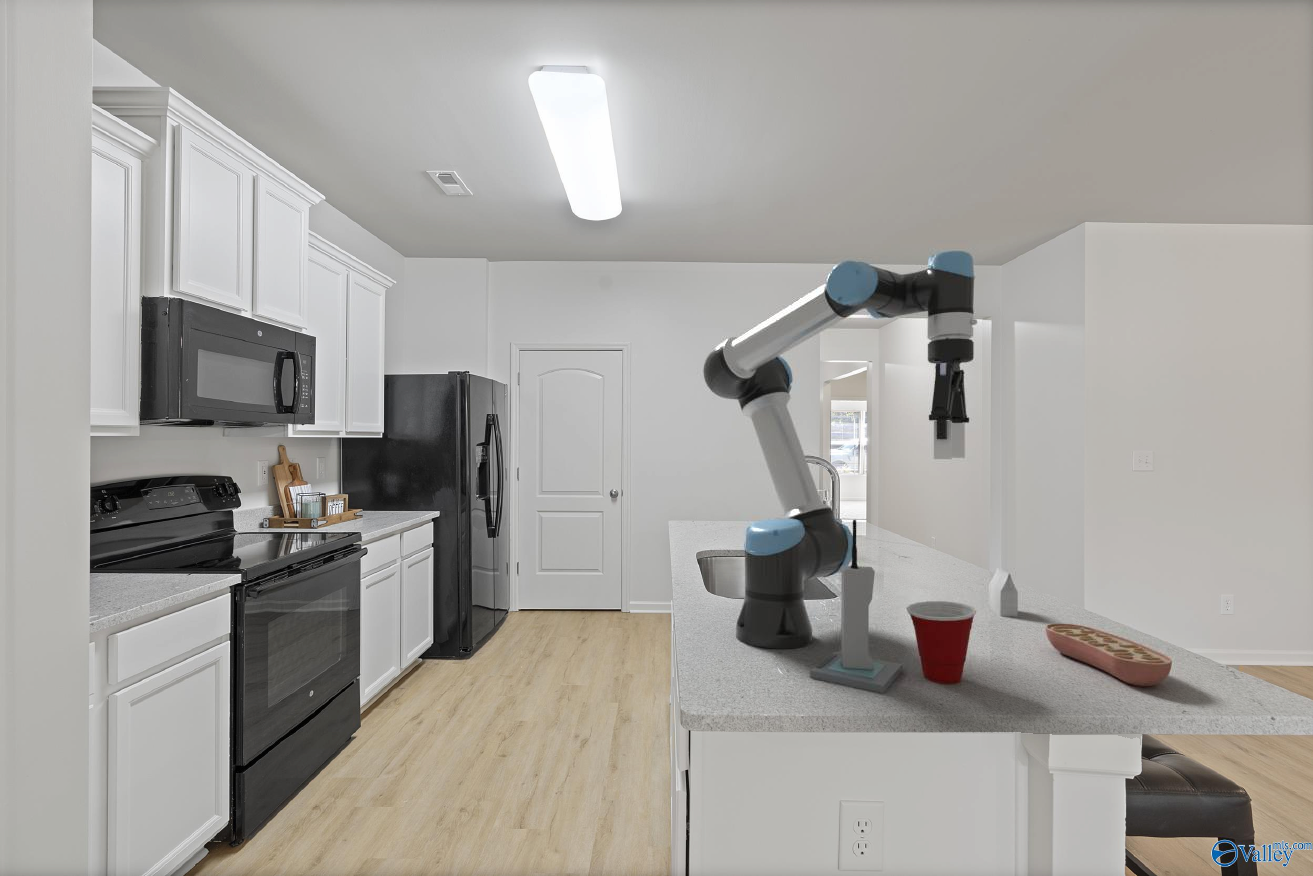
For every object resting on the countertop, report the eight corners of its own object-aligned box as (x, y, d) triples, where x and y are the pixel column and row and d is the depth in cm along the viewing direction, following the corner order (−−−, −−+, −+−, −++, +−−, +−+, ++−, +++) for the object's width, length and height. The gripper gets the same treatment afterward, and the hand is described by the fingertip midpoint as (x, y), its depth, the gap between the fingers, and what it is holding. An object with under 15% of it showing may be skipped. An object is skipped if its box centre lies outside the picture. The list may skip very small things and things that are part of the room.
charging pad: (810, 677, 109) (810, 669, 109) (833, 658, 119) (833, 650, 119) (883, 693, 102) (883, 685, 102) (902, 671, 112) (902, 663, 112)
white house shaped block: (1000, 617, 147) (1000, 573, 147) (988, 610, 154) (988, 567, 154) (1017, 618, 147) (1017, 574, 147) (1005, 610, 153) (1005, 568, 153)
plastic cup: (897, 666, 115) (897, 598, 115) (959, 667, 114) (959, 599, 114) (919, 690, 104) (919, 614, 104) (988, 691, 103) (988, 615, 103)
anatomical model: (1034, 649, 125) (1034, 623, 125) (1082, 648, 126) (1082, 622, 126) (1134, 696, 102) (1134, 664, 102) (1191, 694, 103) (1191, 662, 103)
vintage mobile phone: (874, 671, 109) (875, 521, 109) (843, 669, 109) (844, 520, 109) (870, 663, 112) (871, 518, 112) (841, 661, 113) (841, 518, 113)
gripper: (961, 327, 104) (961, 460, 104) (983, 347, 125) (982, 457, 125) (912, 332, 108) (911, 459, 108) (941, 349, 129) (940, 456, 129)
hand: (949, 458), depth 116 cm, fingers open, 13 cm apart
